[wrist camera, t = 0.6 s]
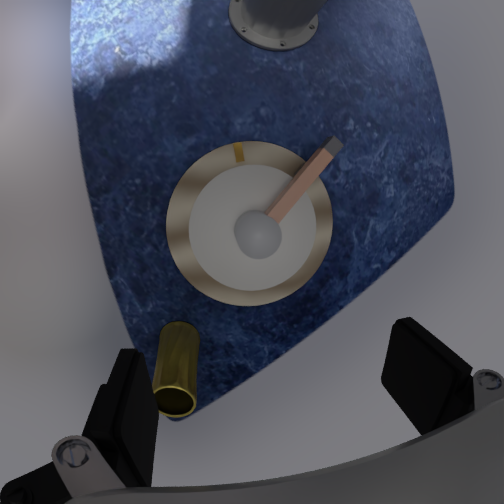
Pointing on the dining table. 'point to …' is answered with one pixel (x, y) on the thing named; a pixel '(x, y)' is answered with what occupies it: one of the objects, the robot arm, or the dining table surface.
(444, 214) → the dining table surface
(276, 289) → the dial base
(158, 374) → the vase
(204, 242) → the dial
